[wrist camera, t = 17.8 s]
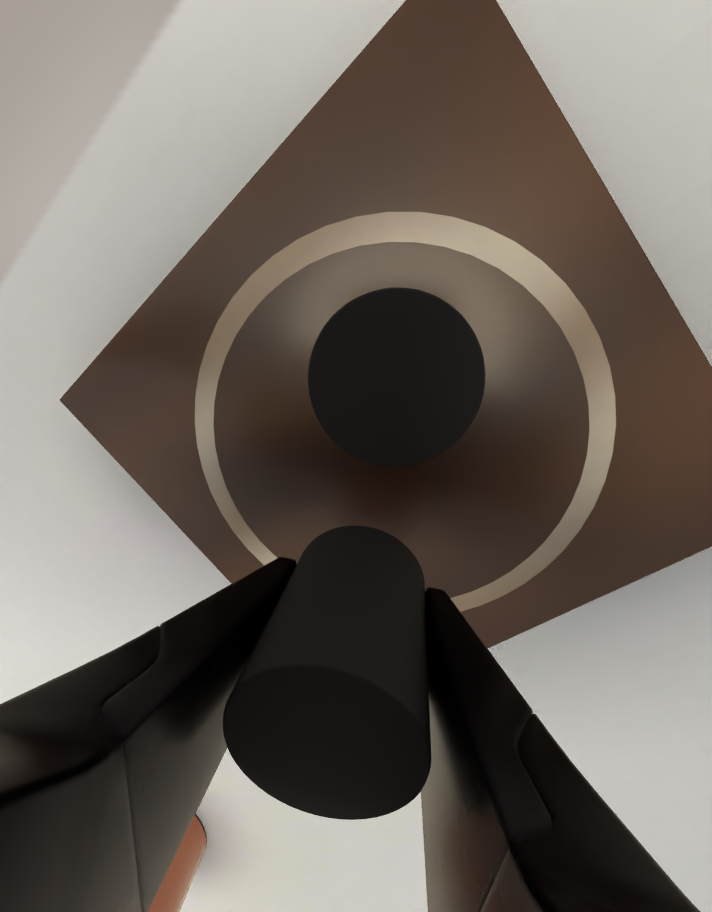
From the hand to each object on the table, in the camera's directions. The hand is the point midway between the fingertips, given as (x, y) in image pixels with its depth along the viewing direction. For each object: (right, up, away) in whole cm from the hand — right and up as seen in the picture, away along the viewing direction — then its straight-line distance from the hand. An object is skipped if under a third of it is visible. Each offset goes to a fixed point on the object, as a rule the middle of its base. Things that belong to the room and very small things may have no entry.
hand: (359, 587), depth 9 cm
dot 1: (+1, +6, +1) cm, 6 cm away
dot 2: (0, 0, 0) cm, 0 cm away
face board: (+1, +4, +3) cm, 5 cm away
